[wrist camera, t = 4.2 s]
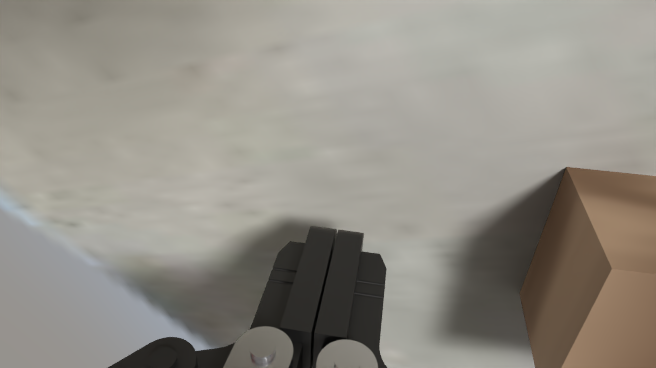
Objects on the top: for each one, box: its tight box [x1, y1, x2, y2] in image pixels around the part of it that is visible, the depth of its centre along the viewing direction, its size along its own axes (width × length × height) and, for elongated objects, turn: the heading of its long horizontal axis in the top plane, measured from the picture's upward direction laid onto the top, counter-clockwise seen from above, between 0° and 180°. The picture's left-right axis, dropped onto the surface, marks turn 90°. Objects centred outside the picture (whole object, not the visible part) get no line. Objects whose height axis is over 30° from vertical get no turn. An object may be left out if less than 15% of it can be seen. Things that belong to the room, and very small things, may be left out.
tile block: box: [520, 167, 656, 368], centre depth 12 cm, size 5×5×4 cm
